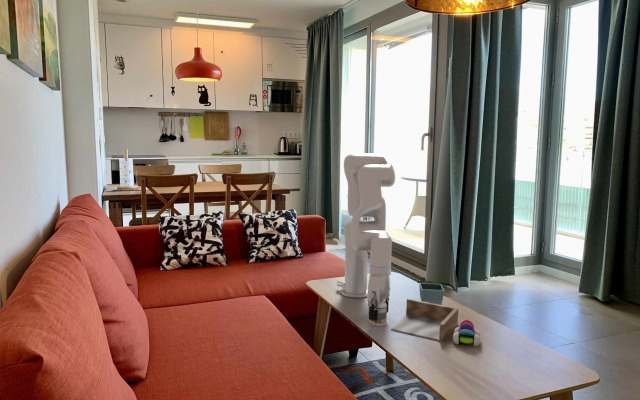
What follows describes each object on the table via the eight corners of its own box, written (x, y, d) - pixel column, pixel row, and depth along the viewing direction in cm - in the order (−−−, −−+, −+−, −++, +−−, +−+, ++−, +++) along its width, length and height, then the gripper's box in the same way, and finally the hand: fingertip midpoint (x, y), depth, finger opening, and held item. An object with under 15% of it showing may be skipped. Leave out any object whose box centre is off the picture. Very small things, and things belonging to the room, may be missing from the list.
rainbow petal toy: (480, 338, 166) (481, 318, 165) (479, 350, 157) (480, 328, 156) (454, 335, 169) (455, 314, 168) (451, 346, 160) (453, 324, 159)
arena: (388, 329, 172) (389, 313, 171) (407, 313, 188) (407, 298, 187) (442, 342, 163) (443, 324, 162) (457, 324, 179) (458, 308, 178)
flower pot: (440, 305, 199) (441, 283, 198) (443, 312, 190) (444, 290, 189) (418, 304, 200) (419, 282, 198) (420, 311, 191) (421, 289, 190)
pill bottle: (369, 320, 181) (369, 294, 179) (384, 320, 181) (385, 294, 180) (371, 326, 175) (372, 299, 174) (387, 326, 175) (388, 299, 174)
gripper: (380, 263, 185) (378, 307, 187) (360, 273, 170) (358, 321, 172) (399, 266, 181) (397, 310, 183) (380, 277, 166) (378, 325, 168)
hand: (378, 315), depth 178 cm, fingers open, 9 cm apart
